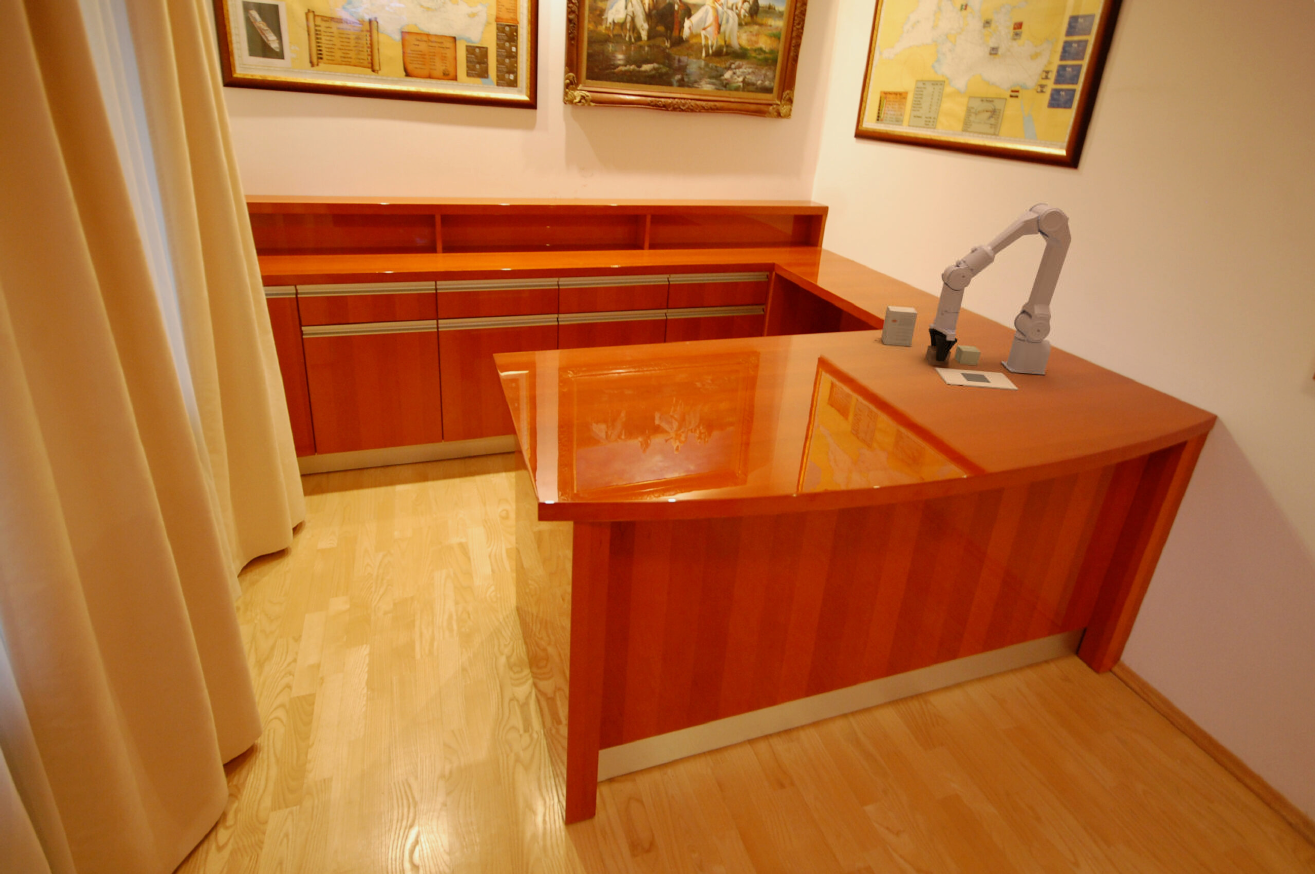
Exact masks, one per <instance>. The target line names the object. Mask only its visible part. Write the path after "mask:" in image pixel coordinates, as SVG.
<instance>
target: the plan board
mask: <svg viewBox="0 0 1315 874" xmlns="http://www.w3.org/2000/svg"><path fill="white" fill-rule="evenodd" d="M934 370H935V371H936V373H938V375H939V376H940V378H941V379H942V380H943V382H944V383H945V382H946V383H945V384H946V385H947V384H950V385H949V386H958V385H963V386H962V387H972V388H973V387H974V388H984V389H985V388H986V389H995V390H996V389H998V390H1009V391H1018V390H1019V388H1018V387H1017V386H1016V385H1015V384H1014V383H1013V382H1012V381H1011V380H1010V379H1009V378H1008V377H1007V376H1006V375H1005V374H1004V373H1003V372H994V371H993V372H992V371H982V370H970V369H956V368H943V367H942V368H941V367H935V368H934Z"/></svg>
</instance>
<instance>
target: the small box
mask: <svg viewBox="0 0 1315 874" xmlns="http://www.w3.org/2000/svg"><path fill="white" fill-rule="evenodd" d="M884 316H885V317H884V320H883V327H882V330H881V331H882V333H881V338H880V340H881V341H882V342H883V345H887V346H899V347H911V346H912V341H913V337H914V332H915V327H916V322H917V317H918V312H917V310H916V309H915V307H907V306H897V305H896V306H895V305H894V306H893V305H887V306H886V311H885V315H884Z"/></svg>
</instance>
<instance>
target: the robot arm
mask: <svg viewBox="0 0 1315 874" xmlns="http://www.w3.org/2000/svg"><path fill="white" fill-rule="evenodd" d="M1069 220H1070V218H1069V217H1068V214H1067V215H1066V213H1065V212H1064V211H1063V210H1062V209H1061V208H1059V207H1053V206H1052V205H1048V204H1046V203H1045V202H1043V203H1042V202H1039V203H1036V204H1034V205H1032V206H1031V207H1030V208H1029V209H1028V210H1025V211H1024V212H1022V213H1021V214H1020V216H1019V217H1017V219H1015V221H1014V222H1012V223H1011V224H1009V225H1008V226H1007V227H1006V228H1005V229H1004V230H1003V231H1002V232H1000V233H999V234H998V235H996V237H995V238H994V239H992V240H991V241H990V242H989V243H988V244H979V245H978V246H973V247H972V248H971V249H970V250H971V251H969V253H968V254H966V255H965V256H964V257H962V258H961V259H957V260H956V261H955V264H951V265H949V266H947V267H946V268H945V269H944V271H943V273H941V274H940V275H941V281H942V282H943V283H942V287H941V288H942V289H941V292H940V296H939V301H938V304H937V308H936V309H937V310H936V314H935V317H934V318H933V323H929V325H928V326H929V328H928V333H929V337H930V346H937V352H936V360H937V361H943V362H944V361H945V359H946V357H947V355H948V353H949V351H950V352H951V349H952V348H953V347H954V346H955V344H957V343H958V341H959V340H958V338H956V335H957V334H956V331H957V323H958V320H959V316H960V311H961V306H962V302H963V298H964V293H965V289H966V288H967V287H968V286H970V284H971V281H972V279H973V278H974V277H976V276H977V275H978V274H980V273H981V272H982V271H983V270H985V269H986V268H987V267H989V266H990V265H992V264H993V262H994V261H995V258H996V255H997V254H999V253H1000V252H1001V251H1003V250H1004V249H1006V248H1007V247H1008V246H1010V245H1012V244H1013V243H1014V242H1016V241H1017V240H1019V239H1020V238H1022V237H1023V236H1030V235H1039V234H1040V236H1042V238H1043V240H1044V241H1045V243H1046V245H1045V247H1044V250H1043V253H1042V257H1041V260H1040V262H1039V266H1038V268H1037V269H1038V270H1037V272H1036V275H1035V279H1034V282H1033V285H1032V289H1031V291H1030V294H1029V297H1028V300H1027V302H1025V303H1024V304H1023V305H1022V307H1021V310H1020V311H1019V313H1018V314H1017V315H1016V316H1015V318H1014V321H1013V326H1014V329H1015V333H1014V336H1013V340H1012V342H1011V347H1010V351H1009V352H1008V353H1009V354H1008V357H1007V361H1004V360H1003V361H1001V364H1002V365H1003V366H1004V367H1005V368H1006V369H1007V370H1008V371H1009V372H1010V373H1018V374H1019V373H1021V374H1033V375H1043V376H1044V375H1046V372H1045V371H1046V368H1047V365H1048V361H1049V358H1050V355H1051V351H1052V350H1051V348H1052V346H1051V342H1050V341H1049V340H1048V339H1046V338H1047V337H1048V336H1049V334H1050V332H1051V324H1050V322H1051V317H1052V314H1051V309H1050V305H1051V302H1052V299H1053V296H1054V293H1055V291H1056V290H1055V289H1056V287H1057V284H1058V280H1059V279H1060V275H1061V272H1062V269H1063V266H1064V263H1065V259H1066V257H1067V254H1068V250H1069V248H1070V246H1071V243H1072V235H1071V231H1070V227H1069Z"/></svg>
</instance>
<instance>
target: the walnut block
mask: <svg viewBox="0 0 1315 874" xmlns="http://www.w3.org/2000/svg"><path fill="white" fill-rule="evenodd" d="M936 352H937V346H931V345H927V350H926V354H925V358H924V359H925V361H926V362H927V363H928V364H929V365H930V366H943V367H948V366H949V363H950V358H951V354H952V351H951V350H950V351H949V353H948V355H947V357H946V359H945V361H944V362H943V361H937V360H936Z"/></svg>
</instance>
